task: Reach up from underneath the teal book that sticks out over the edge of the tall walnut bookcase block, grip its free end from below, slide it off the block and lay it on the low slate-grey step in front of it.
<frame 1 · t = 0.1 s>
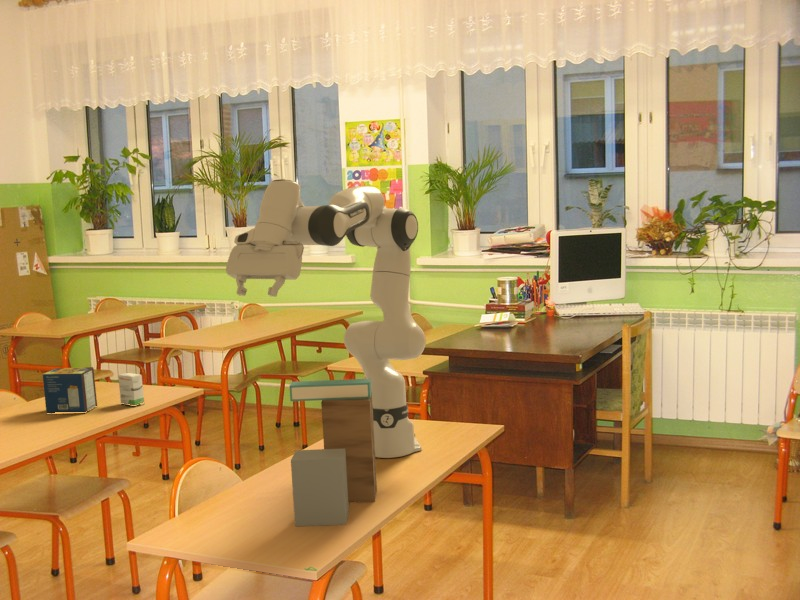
hand: (256, 295, 209), 54 cm above the table, tool tilted 30°, fingers open, 8 cm apart
ink box: (132, 405, 338), on the table
protein box: (72, 411, 332), on the table
step: (322, 519, 213), on the table
bookcase block: (352, 496, 227), on the table
book: (331, 397, 224), point 26 cm above the table, touching bookcase block
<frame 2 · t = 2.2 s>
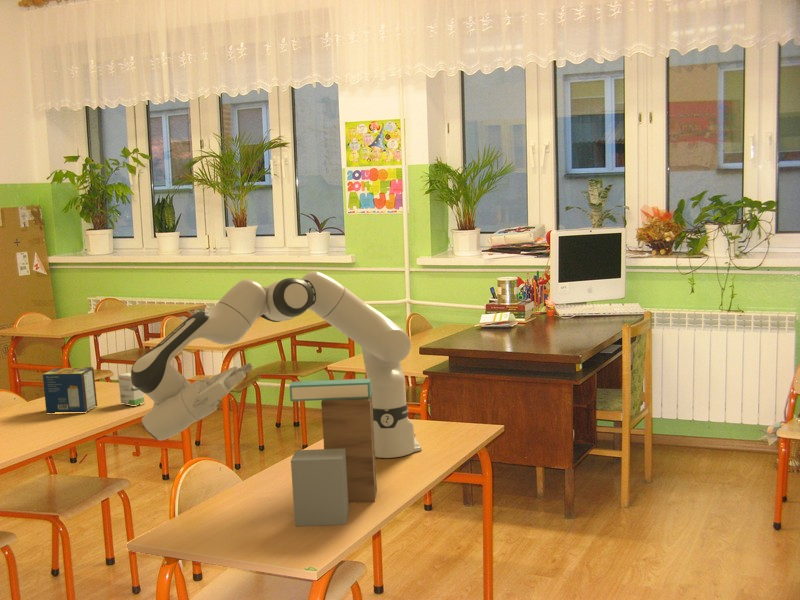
hand: (247, 369, 220), 35 cm above the table, tool pointing upward, fingers open, 8 cm apart
nothing on the table moved.
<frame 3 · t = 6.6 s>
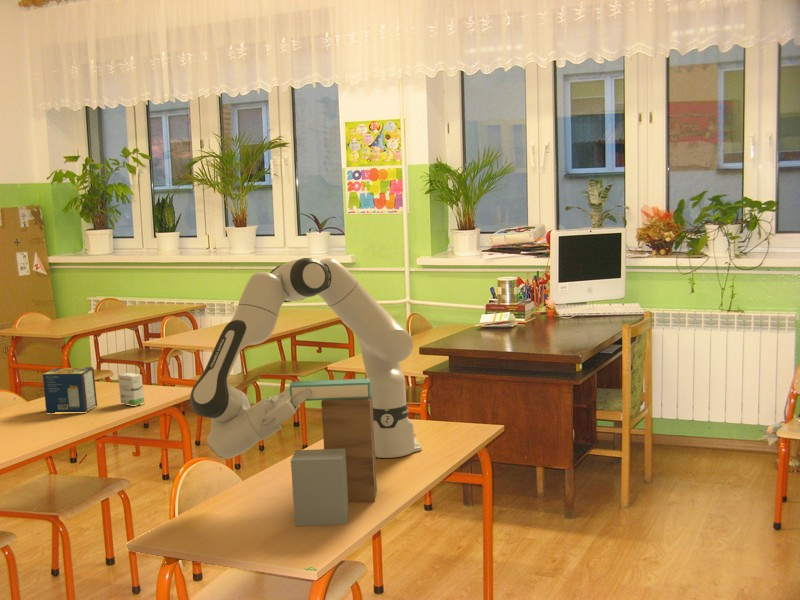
hand: (312, 388, 224), 28 cm above the table, tool pointing upward, fingers closed on book, 5 cm apart
book: (331, 397, 224), point 26 cm above the table, touching bookcase block, gripper
everything else where it was.
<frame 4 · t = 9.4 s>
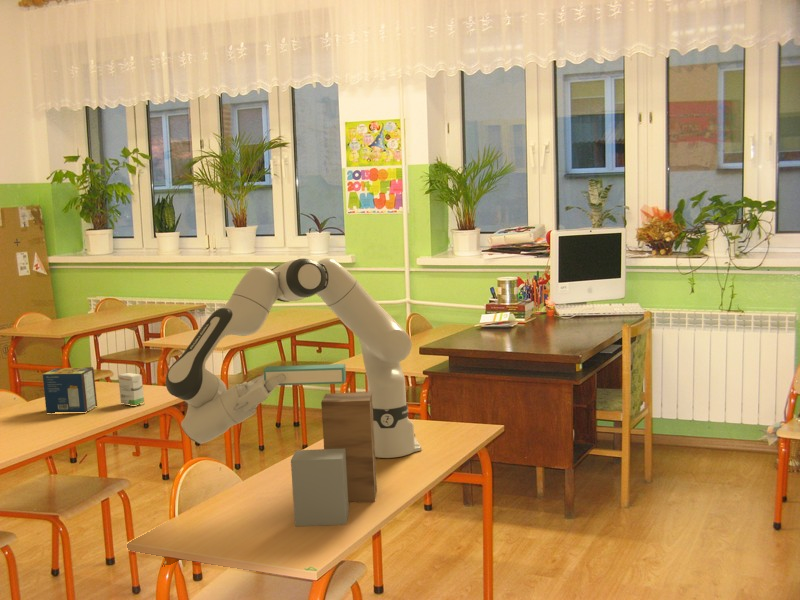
hand: (286, 373, 223), 33 cm above the table, tool pointing upward, fingers closed on book, 5 cm apart
book: (305, 382, 224), point 30 cm above the table, touching gripper
everything else where it was.
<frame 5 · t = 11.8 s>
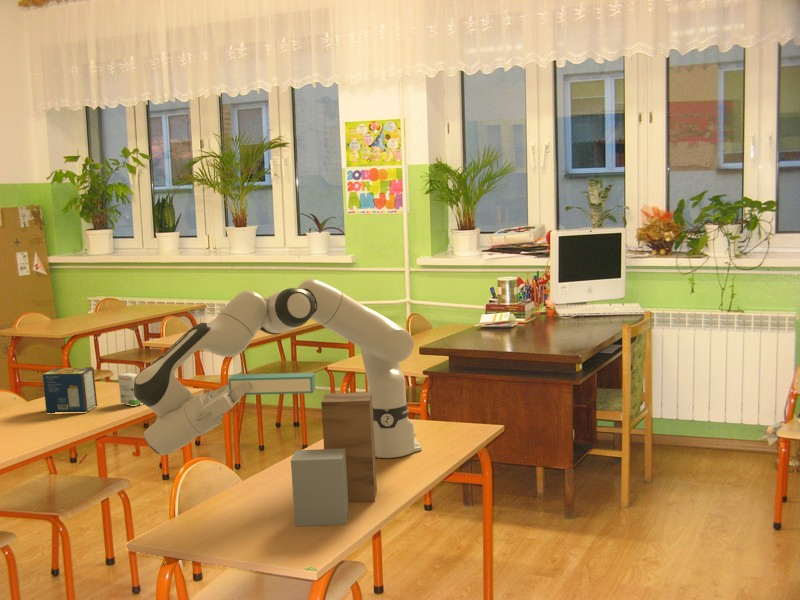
hand: (252, 382, 214), 33 cm above the table, tool pointing upward, fingers closed on book, 5 cm apart
book: (272, 391, 214), point 30 cm above the table, touching gripper
everything else where it was.
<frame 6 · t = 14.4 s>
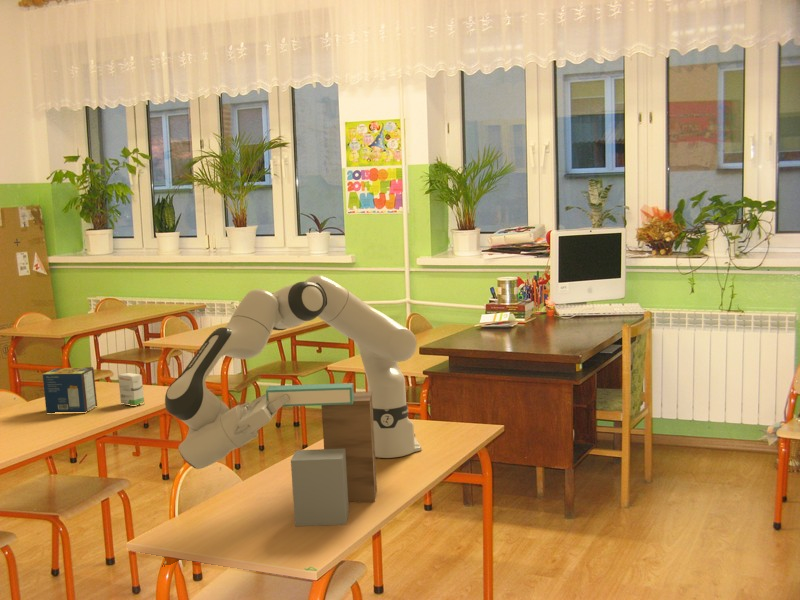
hand: (290, 393, 209), 31 cm above the table, tool pointing upward, fingers closed on book, 5 cm apart
book: (310, 403, 209), point 28 cm above the table, touching gripper
everything else where it was.
when the fingers open (20 cm above the table, at t = 17.0 s): book drops 2 cm, resting on step.
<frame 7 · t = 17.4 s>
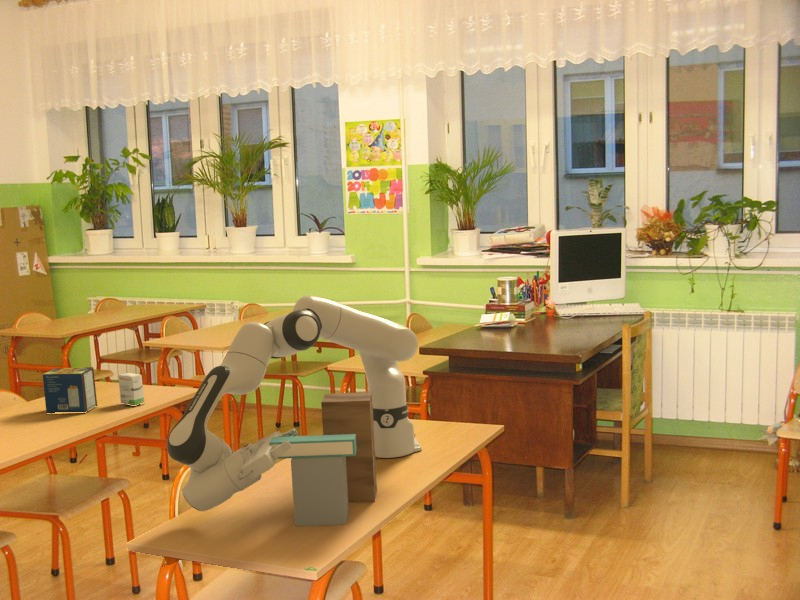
hand: (293, 437, 210), 20 cm above the table, tool pointing upward, fingers open, 8 cm apart
book: (313, 454, 210), point 16 cm above the table, touching step
everything else where it was.
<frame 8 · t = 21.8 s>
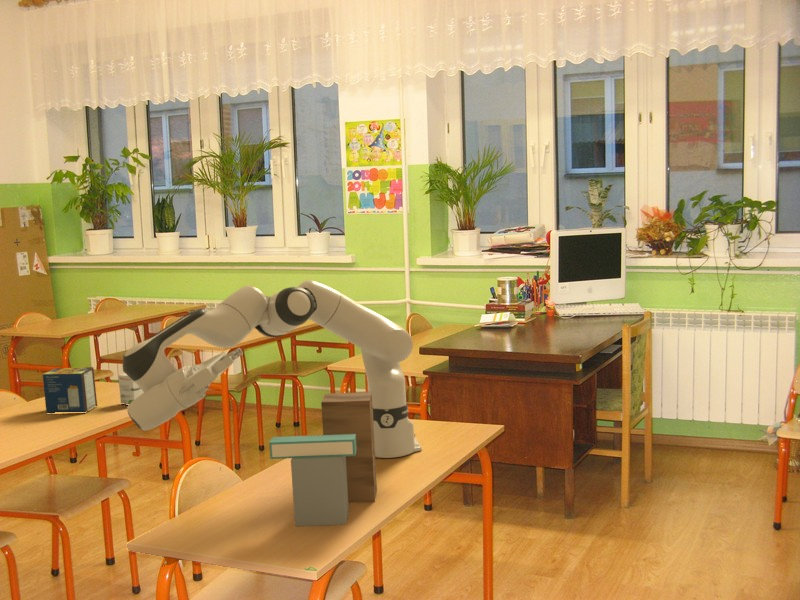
hand: (236, 354, 210), 40 cm above the table, tool pointing upward, fingers open, 8 cm apart
nothing on the table moved.
at the end: book inside the target area (1.1 cm from its centre), point 16.0 cm above the table; the gripper is holding nothing; book moved 18.3 cm from its start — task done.
